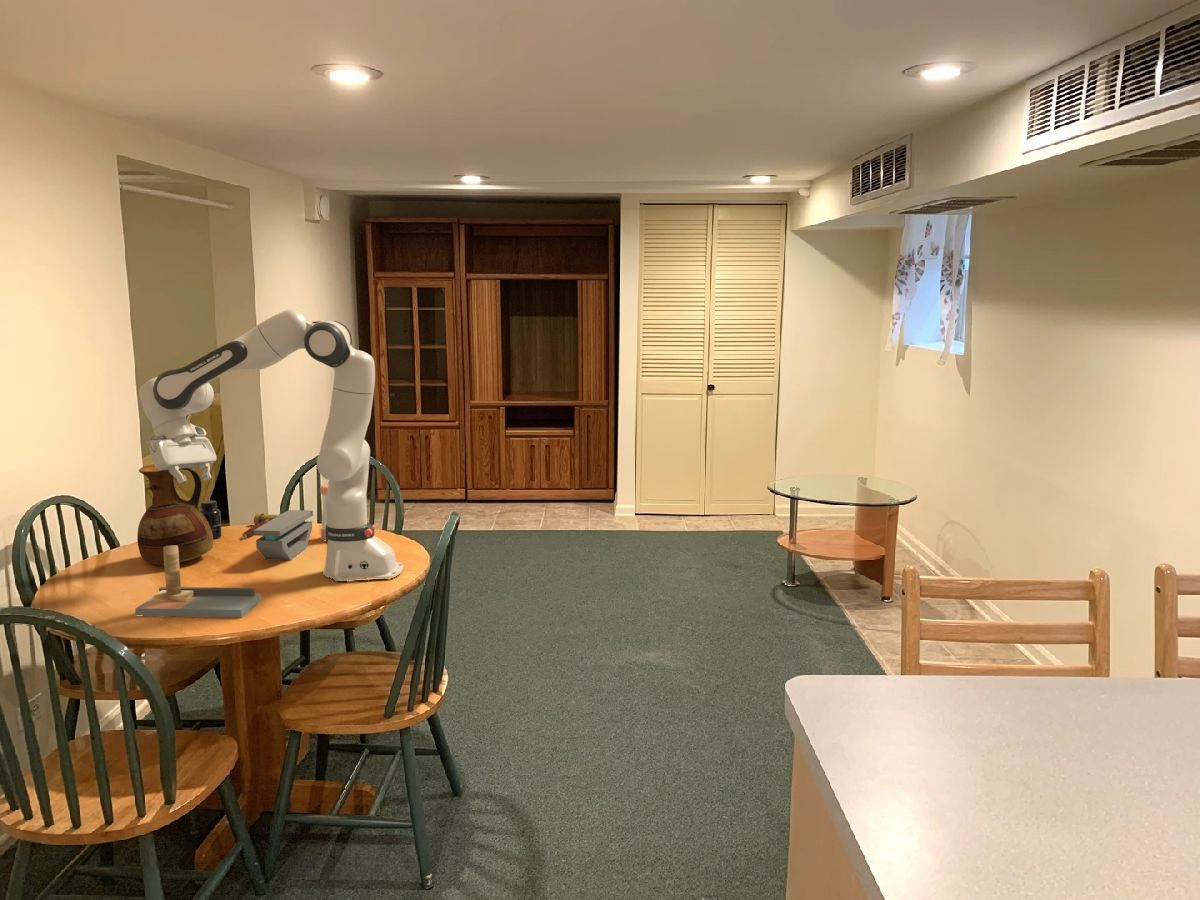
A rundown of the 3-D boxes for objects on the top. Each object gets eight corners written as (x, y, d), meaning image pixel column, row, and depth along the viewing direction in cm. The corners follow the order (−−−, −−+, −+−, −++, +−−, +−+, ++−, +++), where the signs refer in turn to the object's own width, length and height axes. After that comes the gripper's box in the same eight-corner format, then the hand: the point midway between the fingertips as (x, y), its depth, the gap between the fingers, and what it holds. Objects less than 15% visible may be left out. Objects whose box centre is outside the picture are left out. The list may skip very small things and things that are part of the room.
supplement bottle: (220, 539, 284) (218, 503, 282) (197, 541, 282) (195, 504, 280) (223, 534, 291) (220, 499, 289) (200, 535, 289) (198, 500, 287)
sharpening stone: (290, 543, 281) (288, 510, 280) (314, 543, 281) (312, 510, 279) (255, 566, 257) (253, 530, 255) (281, 567, 256) (279, 531, 255)
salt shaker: (317, 538, 287) (315, 481, 284) (339, 534, 292) (336, 478, 288) (326, 543, 282) (324, 484, 278) (348, 539, 286) (346, 482, 283)
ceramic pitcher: (131, 558, 262) (123, 460, 257) (201, 547, 276) (195, 453, 271) (150, 574, 248) (142, 470, 243) (223, 561, 261) (217, 462, 256)
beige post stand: (193, 596, 225) (190, 545, 222) (186, 601, 221) (182, 549, 218) (162, 595, 225) (158, 544, 222) (154, 601, 221) (150, 549, 218)
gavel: (255, 532, 283) (226, 531, 284) (256, 545, 284) (228, 544, 285) (286, 512, 303) (259, 511, 304) (287, 525, 304) (260, 524, 305)
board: (260, 600, 228) (259, 586, 227) (241, 617, 216) (240, 602, 215) (160, 599, 227) (158, 585, 227) (135, 616, 216) (134, 601, 215)
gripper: (154, 431, 226) (176, 479, 225) (209, 429, 246) (229, 473, 245) (137, 442, 228) (158, 489, 227) (192, 439, 248) (212, 483, 247)
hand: (195, 481), depth 236 cm, fingers open, 8 cm apart
